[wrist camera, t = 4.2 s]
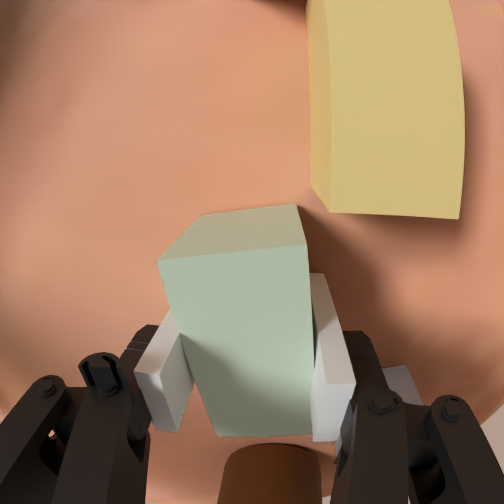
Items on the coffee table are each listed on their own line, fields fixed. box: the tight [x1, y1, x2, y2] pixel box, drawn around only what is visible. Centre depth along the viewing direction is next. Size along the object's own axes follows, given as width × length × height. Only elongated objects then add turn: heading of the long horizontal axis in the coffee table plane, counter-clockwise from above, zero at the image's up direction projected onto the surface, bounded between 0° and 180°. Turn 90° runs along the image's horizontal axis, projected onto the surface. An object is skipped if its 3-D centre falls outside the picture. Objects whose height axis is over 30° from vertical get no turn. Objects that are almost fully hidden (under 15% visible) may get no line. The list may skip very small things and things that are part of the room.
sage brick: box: [157, 203, 314, 437], centre depth 11 cm, size 8×4×5 cm, turn 8°
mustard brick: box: [306, 0, 465, 219], centre depth 8 cm, size 8×4×5 cm, turn 1°
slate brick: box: [335, 364, 424, 457], centre depth 14 cm, size 8×4×5 cm, turn 8°
